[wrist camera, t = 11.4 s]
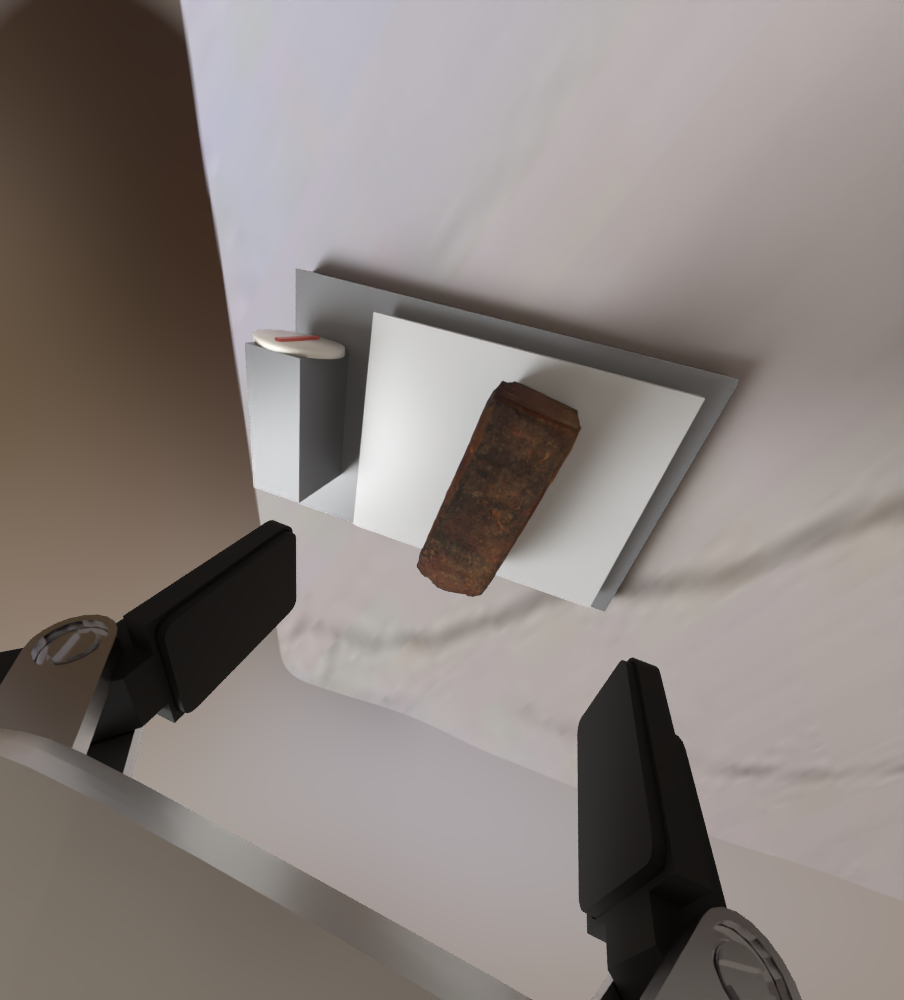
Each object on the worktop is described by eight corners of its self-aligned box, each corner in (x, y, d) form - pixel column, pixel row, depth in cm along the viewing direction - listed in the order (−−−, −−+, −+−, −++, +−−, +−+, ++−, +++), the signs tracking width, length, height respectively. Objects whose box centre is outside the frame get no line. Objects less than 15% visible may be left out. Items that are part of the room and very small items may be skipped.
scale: (727, 375, 18) (794, 397, 13) (602, 596, 25) (612, 668, 20) (309, 271, 21) (226, 253, 16) (305, 493, 28) (247, 531, 23)
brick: (506, 373, 18) (488, 389, 14) (580, 409, 17) (584, 435, 13) (433, 534, 23) (404, 580, 19) (489, 563, 23) (472, 615, 19)
